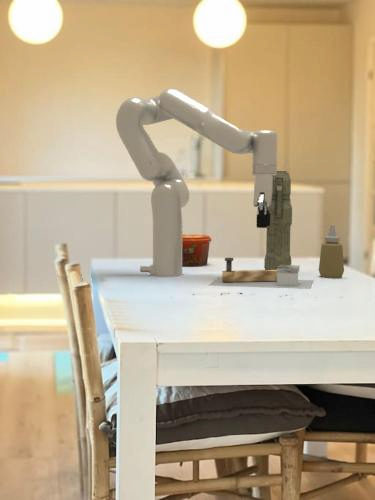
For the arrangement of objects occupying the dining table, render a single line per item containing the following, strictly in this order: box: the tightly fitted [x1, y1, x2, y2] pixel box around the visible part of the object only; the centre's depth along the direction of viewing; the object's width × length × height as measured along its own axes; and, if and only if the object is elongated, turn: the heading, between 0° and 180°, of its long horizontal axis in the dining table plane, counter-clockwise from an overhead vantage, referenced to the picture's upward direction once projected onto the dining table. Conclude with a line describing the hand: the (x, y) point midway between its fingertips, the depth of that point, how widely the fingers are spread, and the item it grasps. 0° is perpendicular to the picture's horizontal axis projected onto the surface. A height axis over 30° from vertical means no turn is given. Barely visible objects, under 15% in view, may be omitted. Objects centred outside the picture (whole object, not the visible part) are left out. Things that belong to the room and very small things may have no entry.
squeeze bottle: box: [318, 224, 345, 279], centre depth 280 cm, size 8×8×18 cm
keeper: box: [277, 264, 300, 286], centre depth 262 cm, size 6×8×5 cm
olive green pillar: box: [263, 170, 293, 270], centre depth 291 cm, size 9×12×35 cm
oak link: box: [221, 257, 277, 282], centre depth 268 cm, size 23×4×7 cm, turn 104°
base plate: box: [208, 276, 314, 290], centre depth 265 cm, size 30×19×2 cm, turn 79°
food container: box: [182, 234, 212, 267], centre depth 323 cm, size 16×16×11 cm
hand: (263, 226), depth 273 cm, fingers open, 8 cm apart
